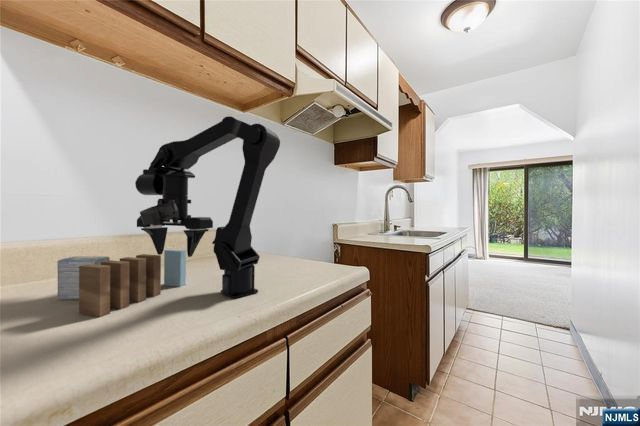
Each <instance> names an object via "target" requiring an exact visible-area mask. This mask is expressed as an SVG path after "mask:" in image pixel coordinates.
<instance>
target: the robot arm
mask: <svg viewBox="0 0 640 426" xmlns="http://www.w3.org/2000/svg"><path fill="white" fill-rule="evenodd" d="M236 139H239V140H240V139H241V140H242V147H241V149H242V154H243V159H244V165H243V168H242V172H241V175H240V179H239V183H238V187H237V191H236V193H235V194H236V195H235V198H234V202H233V205H232V209H231V212H230V216H229V220H228V222H227V224H226V225H225V226H219V227H216V230H215V236H214V240H213V241H212V245H213V253H214V254H215V256H216V260H217V264H218V266H219V269H220V270H221V271H224V273H223V274H222V275H221V276H222V279H221V280H222V281H221V285H222V286H221V288H222V289H221V290H220V293H221V294H224V295H226V296H228V297H230V298H232V299H239V298H241V297H246V296H249V295H252V294H253V295H254V294H257V293H258V292H259V289H257V288H255V276H256V275H255V271H256V270H255V269H256V268H255V267H256V266H255V265H258V263H259V260H260V255H259V254H258V252H257V251H256V249H254V248H253V246H252V240H253V237H252V232H251V223H252V219H253V215H254V212H255V209H256V204H257V201H258V197H259V194H260V191H261V187H262V184H263V183H262V182H263V180H264V176H265V172H266V170H267V168H268V167H269V166H270V164H271V163H272V162H273V161H274V160H275V157H277V153H278V151H279V149H280V146H281V140H280V138H279V136H278V134H277V133H276V132H275V131H272V130H271V129H270V128H267V127H266V126H265V125H263V124H261V123H252V124H249V123H246V122H244V121H241V120H240V119H237V118H235V117H233V116H230V115H229V116H228V115H227V116H224V117H223V118H222V120H221V121H219V122H218V123H216V124H213V125H212V126H210V127H208V128H206V129H205V130H203V131H200V132H199V133H197V134H195V135H193V136H192V137H190V138H188V139H184V140H174V141H171V142H167V143H164V144H163V145H161V146H160V147H159V149H158V151H157V153H156V155H155V156H154V158H153V160H152V161H151V162H150V164H149V167H148V169H146V168H145V169H143V170H142V173H141V174H140V175H139V176H138V177H136V180H135V184H134V185H135V188H136V190H137V192H138V193H140V194H141V195H144V196H162V198H158V199H157V200H156V201H157V204H156V205H154V206H151V207H147V208H146V209H143V210H141V211H139V215H140V216H139V217H138V218H136V228H140V229H141V231H144V232H145V233H147V234H148V235H149V237H150V239H151V241H152V243H153V246H154V248H155V251H156V253H157V254H156V255H161V256H162V255H163V253H164V250H165V245H166V239H167V233H168V229H169V228H168V227H166V226H174V227H175V226H176V227H177V226H178V227H185V229H184V230H183V233H184V234H185V236H186V248H187V249H186V255H187V257H188V258H190V257H193V255H194V253H195V251H196V250H197V247H198V245H199V243H200V241H201V239H202V238H203V236H204V235H205V233H206V232H209V229H213V228H214V221H213V219H212V218H211V216H209V217H207V216H195V217H193V216H192V214H188V212H189V211H188V209H189V208H188V207H189V205H188V204H192V199H189V195H188V194H189V179H195V178H196V175H195V173H193V172H192V171H190V169H191V168H192V167H194V166H195V165H196V164H197V163H198V161H199V159H200V158H201V157H202V156H204V155H206V154H208V153H210V152H212V151H213V150H216V149H218V148H220V147H221V146H224V145H225V144H228V143H229V142H231V141H233V140H236Z"/></svg>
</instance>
